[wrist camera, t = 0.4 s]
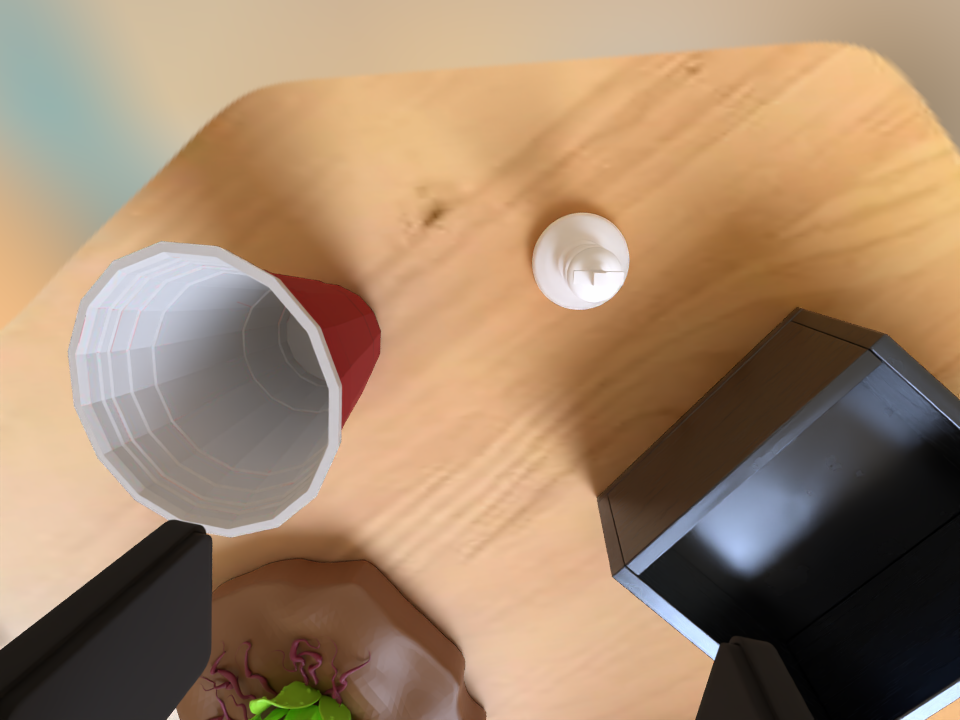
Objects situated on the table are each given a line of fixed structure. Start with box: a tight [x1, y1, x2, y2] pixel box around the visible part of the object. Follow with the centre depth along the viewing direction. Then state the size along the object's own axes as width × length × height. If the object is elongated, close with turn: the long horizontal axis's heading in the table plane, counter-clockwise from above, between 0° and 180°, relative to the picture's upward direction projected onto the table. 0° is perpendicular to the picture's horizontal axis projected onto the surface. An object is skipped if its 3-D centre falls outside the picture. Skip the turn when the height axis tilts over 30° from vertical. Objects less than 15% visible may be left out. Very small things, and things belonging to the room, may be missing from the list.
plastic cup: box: [68, 241, 381, 538], centre depth 24 cm, size 11×11×12 cm
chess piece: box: [532, 213, 629, 310], centre depth 22 cm, size 5×5×10 cm
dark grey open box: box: [597, 307, 960, 720], centre depth 25 cm, size 15×15×7 cm
